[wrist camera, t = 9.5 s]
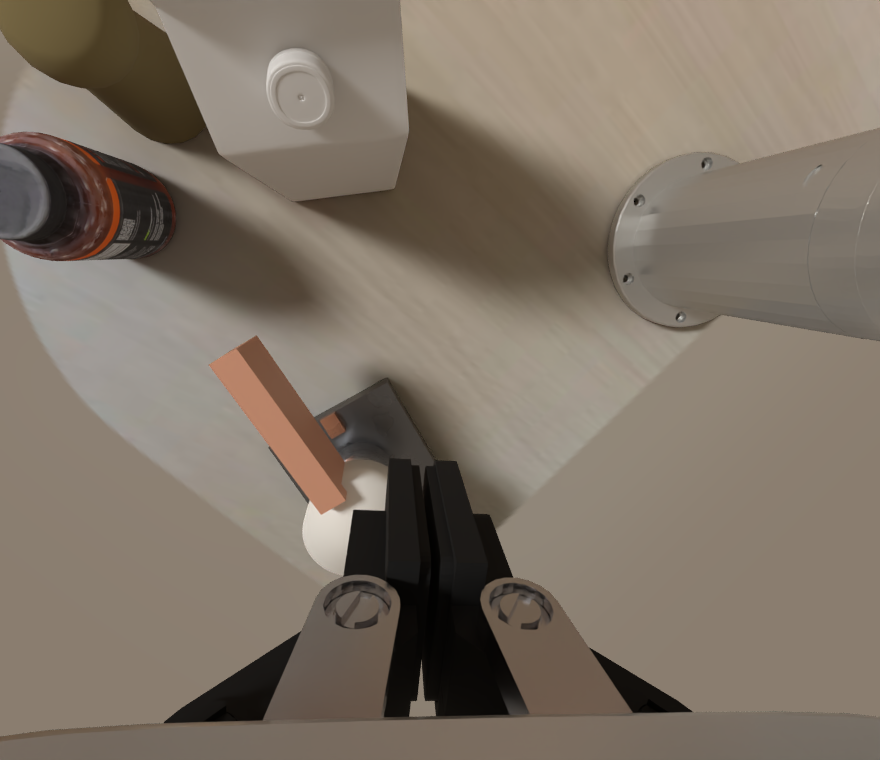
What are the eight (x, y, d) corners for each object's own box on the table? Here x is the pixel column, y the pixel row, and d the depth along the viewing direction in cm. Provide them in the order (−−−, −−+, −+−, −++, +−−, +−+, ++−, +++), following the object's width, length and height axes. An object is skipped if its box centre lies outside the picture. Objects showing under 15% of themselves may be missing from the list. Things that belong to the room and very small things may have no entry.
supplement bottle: (70, 164, 29) (-110, 110, 19) (169, 162, 30) (53, 109, 19) (93, 261, 31) (-60, 264, 20) (187, 257, 32) (88, 258, 21)
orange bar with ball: (426, 516, 31) (433, 553, 27) (344, 563, 31) (339, 606, 28) (292, 314, 27) (278, 324, 23) (197, 369, 27) (167, 389, 23)
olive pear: (234, 110, 30) (155, 30, 19) (156, 162, 30) (36, 112, 19) (169, 13, 28) (44, -133, 18) (87, 69, 28) (-86, -42, 18)
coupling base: (386, 377, 36) (388, 403, 29) (446, 479, 38) (460, 522, 32) (272, 440, 36) (250, 478, 29) (340, 536, 38) (333, 590, 32)
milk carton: (267, 84, 30) (91, -188, 11) (377, 73, 30) (379, -202, 12) (291, 202, 32) (174, 130, 13) (395, 189, 32) (418, 103, 14)
